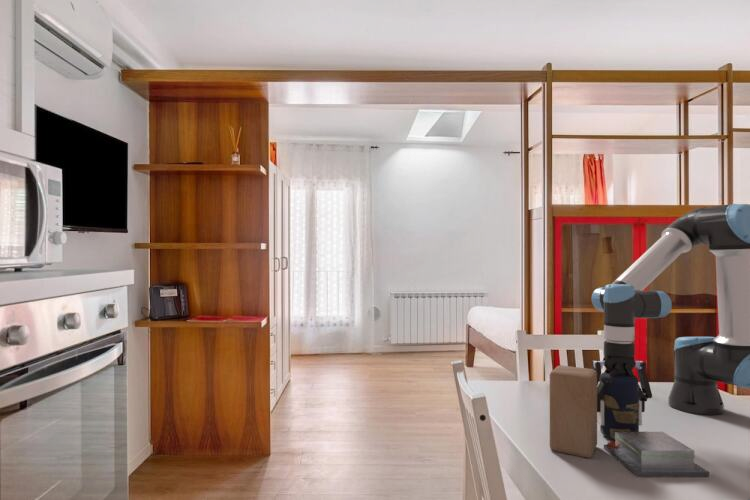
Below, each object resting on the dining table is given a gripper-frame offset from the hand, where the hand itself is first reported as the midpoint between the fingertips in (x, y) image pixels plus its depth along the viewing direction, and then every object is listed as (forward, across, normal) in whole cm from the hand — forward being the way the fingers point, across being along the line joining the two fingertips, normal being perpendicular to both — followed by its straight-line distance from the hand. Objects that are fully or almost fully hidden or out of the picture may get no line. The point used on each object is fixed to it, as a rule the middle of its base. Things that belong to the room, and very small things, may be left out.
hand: (619, 423), depth 134 cm
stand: (+4, 0, +16) cm, 16 cm away
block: (+4, +16, +8) cm, 18 cm away
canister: (+4, 0, 0) cm, 4 cm away
